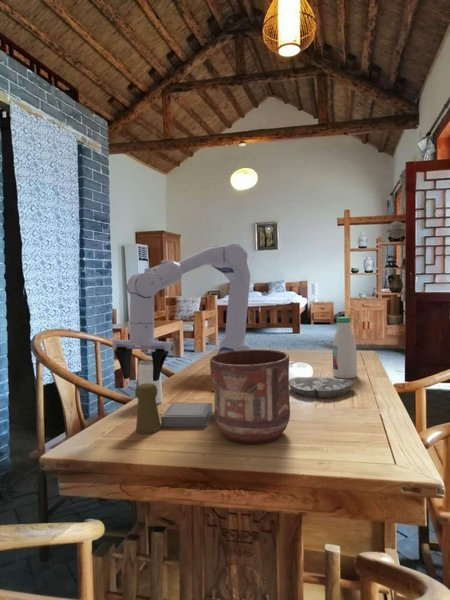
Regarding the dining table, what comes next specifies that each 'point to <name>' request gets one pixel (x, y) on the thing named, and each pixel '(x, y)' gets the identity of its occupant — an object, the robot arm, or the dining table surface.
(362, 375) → the dining table surface
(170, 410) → the grey flat square block
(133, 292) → the robot arm
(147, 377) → the can
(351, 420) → the dining table surface
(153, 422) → the olive bowling pin
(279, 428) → the pottery
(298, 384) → the brain slice
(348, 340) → the milk bottle
